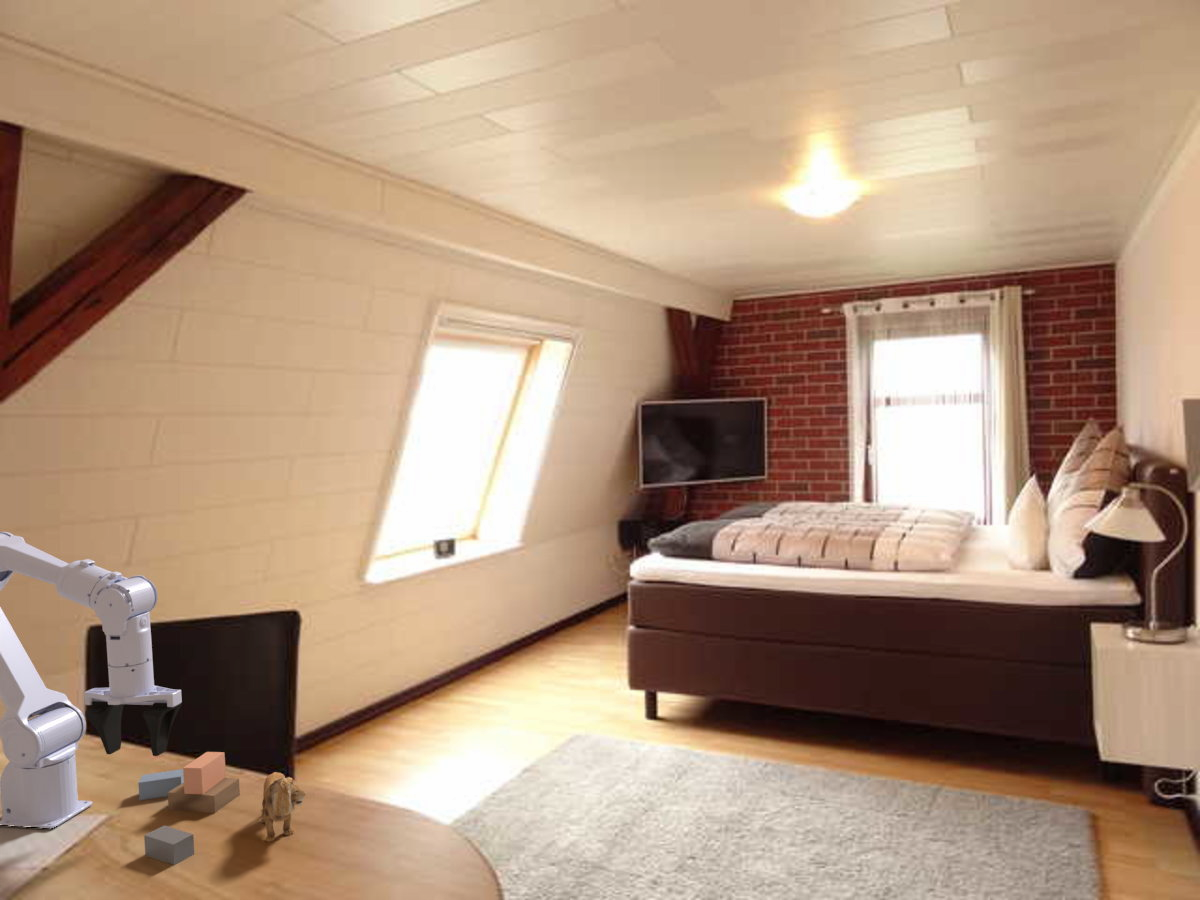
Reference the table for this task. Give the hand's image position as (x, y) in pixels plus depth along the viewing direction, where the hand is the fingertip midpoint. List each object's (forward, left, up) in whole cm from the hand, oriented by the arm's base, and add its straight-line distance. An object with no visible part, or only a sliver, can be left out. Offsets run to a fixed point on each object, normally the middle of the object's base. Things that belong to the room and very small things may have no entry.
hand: (136, 752), depth 124 cm
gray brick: (+11, -8, -11) cm, 17 cm away
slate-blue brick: (-3, +9, -11) cm, 14 cm away
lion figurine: (+22, +1, -11) cm, 25 cm away
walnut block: (+6, +7, -11) cm, 14 cm away
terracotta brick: (+6, +7, -8) cm, 12 cm away
